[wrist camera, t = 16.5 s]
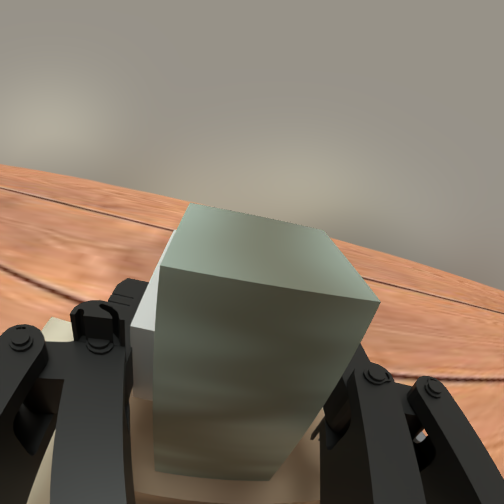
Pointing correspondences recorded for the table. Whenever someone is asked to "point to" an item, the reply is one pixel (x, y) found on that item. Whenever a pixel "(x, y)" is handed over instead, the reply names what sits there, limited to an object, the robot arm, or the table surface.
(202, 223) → the block
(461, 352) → the table surface
